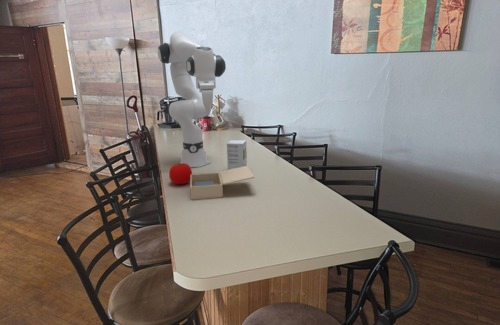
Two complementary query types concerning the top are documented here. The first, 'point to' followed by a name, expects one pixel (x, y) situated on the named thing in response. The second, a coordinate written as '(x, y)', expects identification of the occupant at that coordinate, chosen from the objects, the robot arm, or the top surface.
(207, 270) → the top surface
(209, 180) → the box
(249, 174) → the lid
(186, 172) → the tomato
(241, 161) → the supplement box
